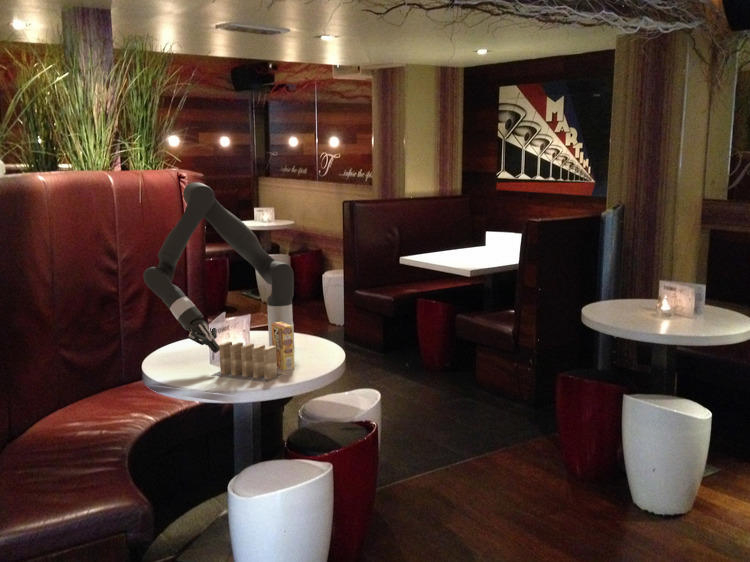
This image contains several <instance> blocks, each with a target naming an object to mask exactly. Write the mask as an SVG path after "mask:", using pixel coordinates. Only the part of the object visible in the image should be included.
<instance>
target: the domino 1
mask: <svg viewBox="0 0 750 562" xmlns="http://www.w3.org/2000/svg"><path fill="white" fill-rule="evenodd" d="M218 345H219V365H220V369H219V370H220V371H221V374H227V373H229V372H231V353H230V346H231V345H233V342H232V341H230V340H229V341H225V342H223V343H220V344H218Z"/></svg>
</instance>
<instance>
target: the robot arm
mask: <svg viewBox="0 0 750 562" xmlns="http://www.w3.org/2000/svg"><path fill="white" fill-rule="evenodd" d="M182 195H183V198H184V199H183V200H184V201H185V202H184V203H186V207H185V209H184V212H183V214H182V216H181V218H180V219H179V220H178V222H177V223H176V224H175V226H174V227H173V228H172V229H171V231H170V232H169V233H168V235H167V236H166V237H165V240H164V242H163V244H162V246H161V247H160V249H159V251H158V253H157V258H158V259H159V260H158V261H159V262H158V265H157V266H151V267H150V266H149V267H148V268H146V269H145V270H144V271H143V276H142V277H143V278H142V279H143V281H144V284H145V285H146V287H148V289H150V290H151V291H152V292H153V293H154V294H155V295H156V296H157V297H158V298H160V299H161V300H162V302H163V303H164V304H165V305H166V307H167V308H168V309H169V310H170V312H171V313H172V315H173V317H174V318H175V319H176V320H177V321H178V323H179V324H180V325H181V326H182V328H183V329H184V330H186V331H188V332H189V334H188V336H187V338H188V339H189V340H191V341H193V342H195V343H196V344H199V345H201V346H204V345H205V346H207V347H208V348H209V349H210V350H211V351H212V352H213V353H214V354H216V353H219V352H220V350H219V345H220V344H218V343H217V341H216V338H218V336H217V327H216V328H213V329H212V331H211V328H210V331H209V325H210V324H208V322H207V321H205V320H204V315H203V314H202V312H201V311H200V310H199V308H197V306H196V305H195V304H194V303H193V301H192V300H191V299H189V298H188V296H186V294H185V293H184V292H183V290H182V289H181V288H179V286H177V285H175V284H173V283H172V280H173V278H174V275H175V273H176V268H177V264H178V262H179V260H180V258H181V257H182V254H183V252H184V250H185V248H186V246H187V245H188V243H189V240H190V239H191V237H192V235H193V234H194V232H195V231H196V229H197V227H199V225H200V223H201V222H202V220H203V218H204V219H205V220H206V221H207V222H209V224H210V225H211V226H212V228H213V229H214V230H215V231H216V232H217V233H218V235H219V236H220V237H221V238H222V239H223V240H224V241H225V242H226V243H227V244H228V245H229V246H230V247H231V249H233V250H234V251H235V252H237V253H238V254H239V255H240V256H241V257H242V258H243V259H245V260H246V261H247V262H248V263H249V264H250V265H251V266H252V267H253V268H254V269H255V271H256V272H257V273H258V274H259V275H260V276H261V278H262V279H263V280H264V281H265V282H266V284H268V285H270V286H271V293H270V295H269V296H268V297H267V298H266V300H267V301H266V304H267V305H266V306H267V326H268V347H270V346H272V327H271V323H275V322H284V323H286V324H289V325H292V329H293V346H294V347H295V333H294V331H295V330H294V326H295V325H294V321H293V298H294V294H295V293H294V291H295V290H294V289H295V283H294V281H295V276H294V270H293V268H292V266H291V265H290V264H289V263H286V262H284V261H283V262H282V261H278V260H275V258H273V257H272V256H270V255H269V253H267V251H265V250H264V248H263V247H262V245H261V244H260V240H259V239H258V237H257V235H256V233H254V232H253V231H252V230H251V229H250V228H249V227H248V225H247V224H246V223H244V222H243V221H242V220H241V219H240V218H238V217H237V216H236V215H235V214H233V213H232V212H231V211H229V210H228V209H226V208H225V207H224V206H223V205H222V204H221V203H220V202H219V201H218V200H217V198H216V196H215V193H214V190H213V189H212V188H211V187H210V186H208V185H206V184H204V183H202V182H197V181H196V182H190V183H188V184H187V185H186V186H185V187H184V188H183V194H182Z"/></svg>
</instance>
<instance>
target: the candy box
mask: <svg viewBox="0 0 750 562" xmlns="http://www.w3.org/2000/svg"><path fill="white" fill-rule="evenodd" d="M271 327H272V346H276V357H277V368H279V369H281V370H283V371H288V370H294V369H295V354H294V352H295V351H294V347H293V329H292V325H289V324H286V323H284V322H275V323H271Z"/></svg>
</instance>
